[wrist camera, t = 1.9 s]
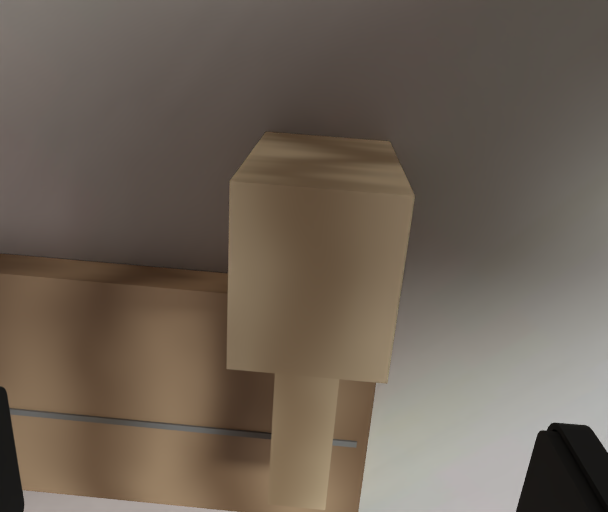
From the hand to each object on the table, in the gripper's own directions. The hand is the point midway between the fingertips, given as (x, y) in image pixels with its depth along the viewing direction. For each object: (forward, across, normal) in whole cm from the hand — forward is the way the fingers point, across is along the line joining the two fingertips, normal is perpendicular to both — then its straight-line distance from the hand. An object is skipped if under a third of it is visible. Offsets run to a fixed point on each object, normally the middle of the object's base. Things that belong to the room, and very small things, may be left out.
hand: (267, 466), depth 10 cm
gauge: (+15, -1, +4) cm, 15 cm away
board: (+15, +8, +9) cm, 19 cm away
